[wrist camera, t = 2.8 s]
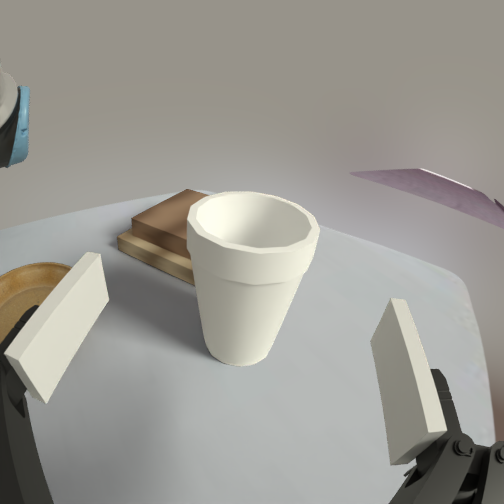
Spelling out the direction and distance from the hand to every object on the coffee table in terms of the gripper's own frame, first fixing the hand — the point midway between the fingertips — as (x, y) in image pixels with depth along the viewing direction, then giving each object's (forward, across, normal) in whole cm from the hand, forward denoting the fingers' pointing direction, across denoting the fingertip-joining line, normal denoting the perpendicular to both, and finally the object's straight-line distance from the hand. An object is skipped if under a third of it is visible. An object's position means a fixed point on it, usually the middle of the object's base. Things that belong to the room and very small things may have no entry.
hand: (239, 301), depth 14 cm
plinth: (+26, -8, -14) cm, 30 cm away
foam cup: (+10, 0, -14) cm, 17 cm away
